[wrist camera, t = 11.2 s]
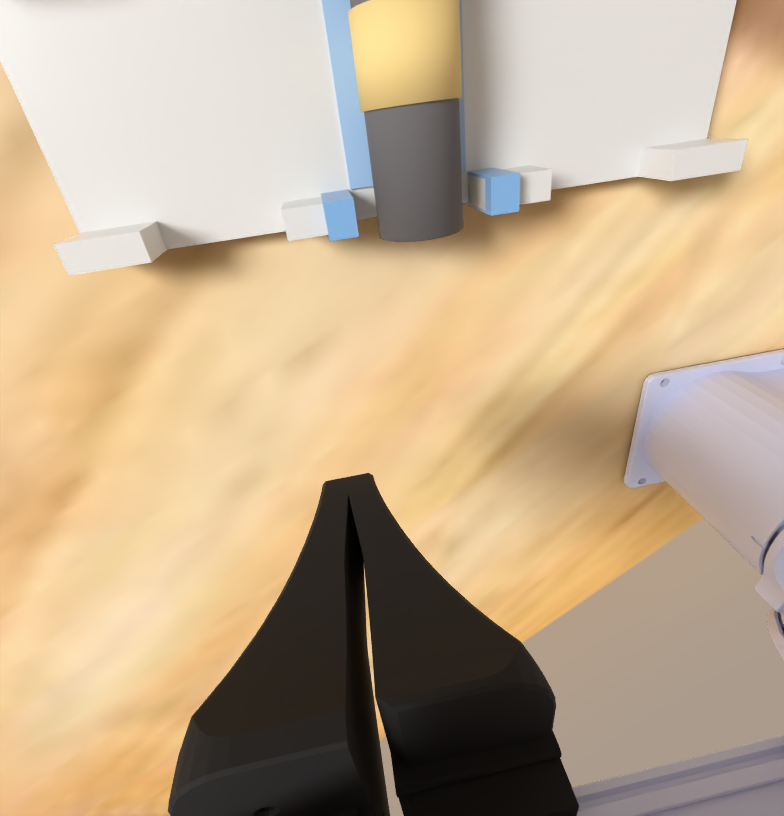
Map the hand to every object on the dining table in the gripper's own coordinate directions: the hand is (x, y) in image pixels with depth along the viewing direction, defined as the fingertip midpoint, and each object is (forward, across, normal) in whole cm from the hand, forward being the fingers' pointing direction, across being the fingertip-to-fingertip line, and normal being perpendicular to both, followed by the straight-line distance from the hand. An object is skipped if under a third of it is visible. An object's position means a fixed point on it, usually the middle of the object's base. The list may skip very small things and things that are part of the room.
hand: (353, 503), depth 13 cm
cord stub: (+9, -4, -11) cm, 14 cm away
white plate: (+10, -4, -10) cm, 15 cm away
